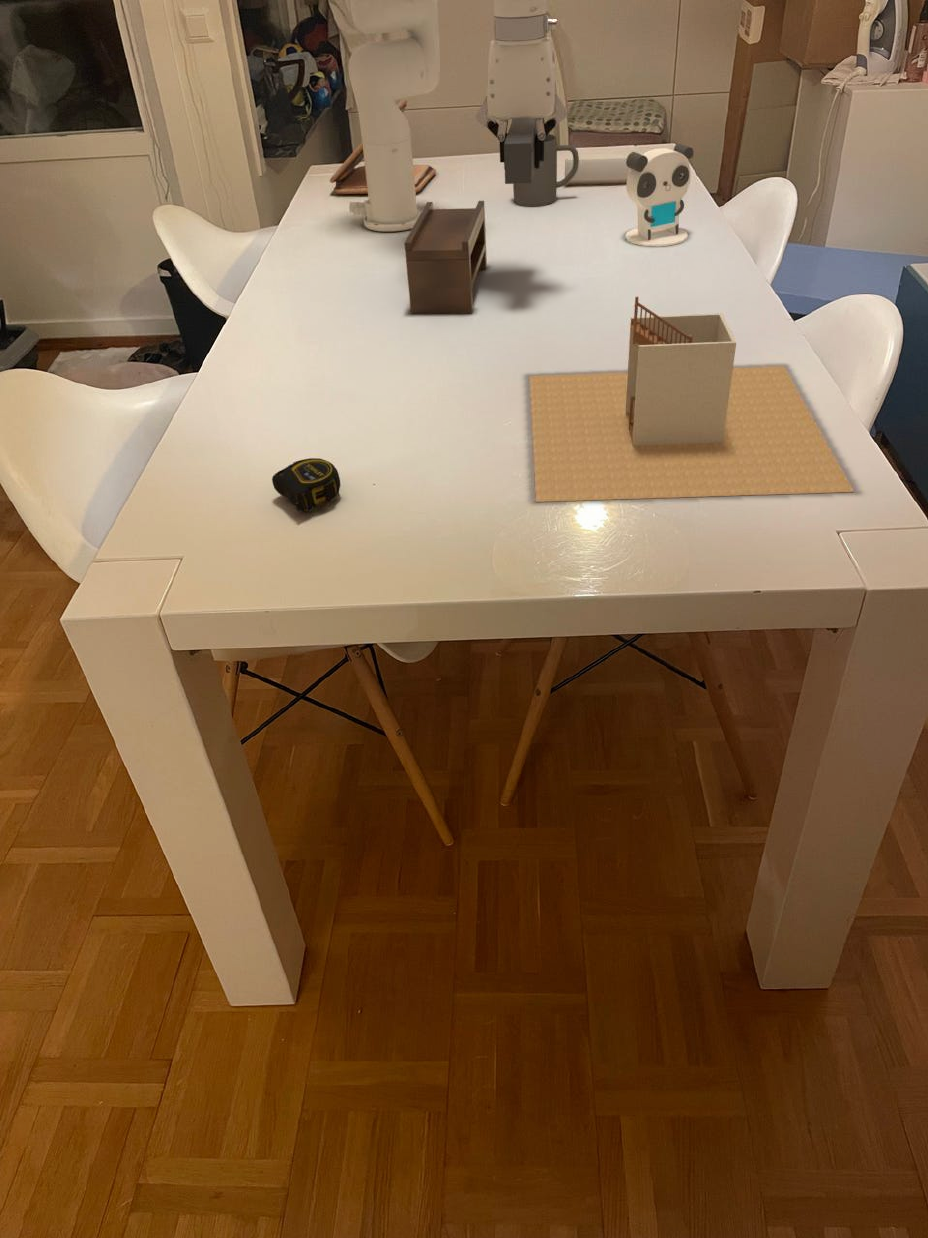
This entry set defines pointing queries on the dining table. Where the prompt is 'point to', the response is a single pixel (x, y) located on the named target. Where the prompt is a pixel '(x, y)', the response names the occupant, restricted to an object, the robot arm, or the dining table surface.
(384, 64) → the robot arm
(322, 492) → the tape measure
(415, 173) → the case
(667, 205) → the panda standee
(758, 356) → the dining table surface
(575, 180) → the tube
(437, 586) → the dining table surface
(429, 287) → the shelf
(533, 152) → the case
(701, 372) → the staircase
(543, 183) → the mug
